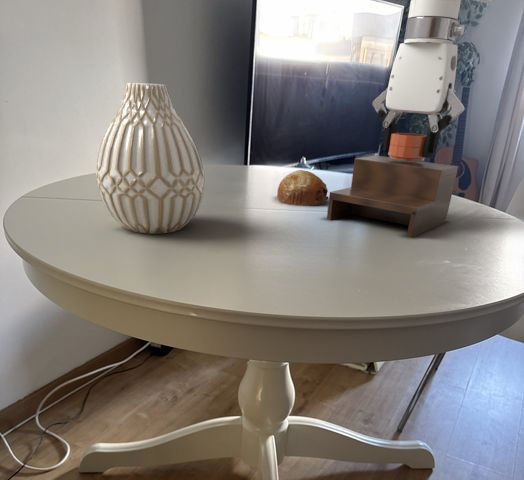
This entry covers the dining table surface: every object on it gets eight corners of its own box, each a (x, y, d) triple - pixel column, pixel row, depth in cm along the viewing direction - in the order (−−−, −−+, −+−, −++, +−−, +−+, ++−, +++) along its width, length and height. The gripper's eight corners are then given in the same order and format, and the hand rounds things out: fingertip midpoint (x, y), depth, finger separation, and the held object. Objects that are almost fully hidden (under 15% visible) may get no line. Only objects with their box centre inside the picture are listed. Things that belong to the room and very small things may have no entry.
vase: (80, 226, 74) (60, 78, 65) (157, 211, 86) (151, 83, 76) (149, 248, 66) (139, 83, 57) (225, 228, 77) (227, 88, 68)
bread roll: (290, 213, 106) (277, 177, 103) (334, 196, 102) (322, 159, 99) (280, 222, 97) (265, 184, 95) (327, 205, 93) (314, 164, 90)
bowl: (431, 160, 86) (436, 135, 84) (416, 162, 81) (421, 137, 79) (397, 155, 89) (401, 132, 87) (381, 158, 84) (385, 133, 82)
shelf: (445, 223, 89) (458, 166, 84) (410, 239, 77) (423, 174, 73) (367, 208, 97) (375, 155, 92) (326, 220, 86) (333, 161, 81)
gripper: (492, 36, 74) (463, 159, 83) (389, 37, 83) (372, 148, 92) (478, 30, 69) (448, 162, 77) (369, 32, 78) (353, 150, 87)
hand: (407, 153), depth 85 cm, fingers closed on bowl, 6 cm apart
